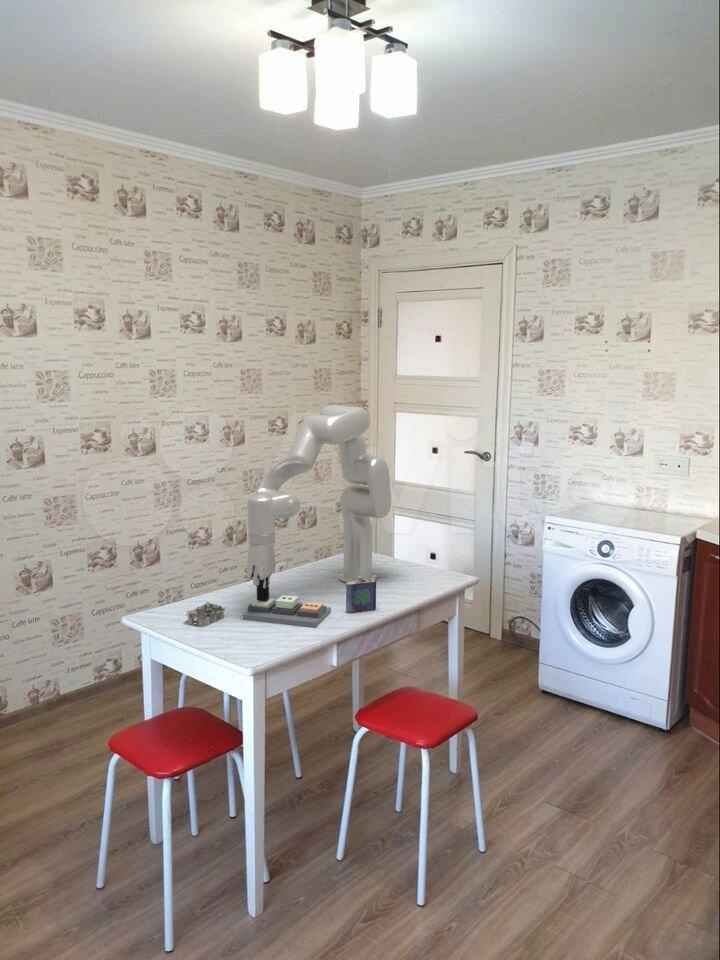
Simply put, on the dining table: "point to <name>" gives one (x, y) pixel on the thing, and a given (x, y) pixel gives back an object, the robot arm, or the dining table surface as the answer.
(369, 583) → the flask
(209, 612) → the egg carton
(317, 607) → the tile
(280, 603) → the tile
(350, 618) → the dining table surface
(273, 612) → the keypad board
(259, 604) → the tile
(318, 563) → the dining table surface
